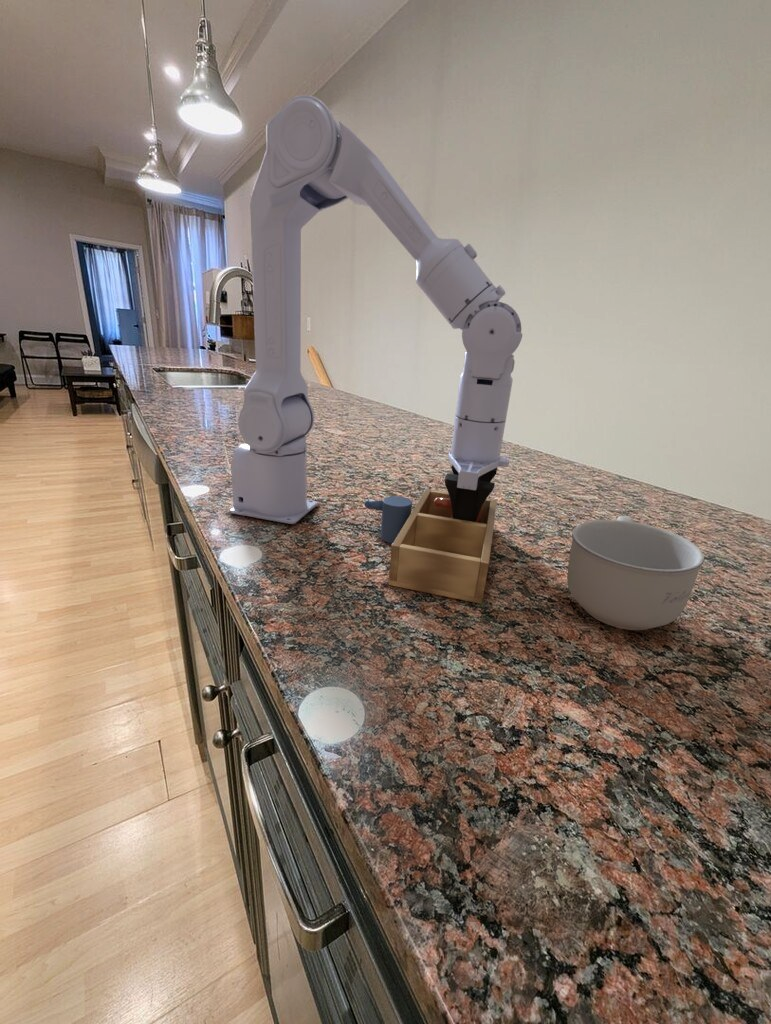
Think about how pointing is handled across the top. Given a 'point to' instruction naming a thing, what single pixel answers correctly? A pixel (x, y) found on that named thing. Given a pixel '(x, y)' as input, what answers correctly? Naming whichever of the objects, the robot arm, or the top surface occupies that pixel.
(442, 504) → the terracotta scoop
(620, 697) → the top surface
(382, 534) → the blue scoop
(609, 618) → the teacup
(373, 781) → the top surface
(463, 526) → the caddy
